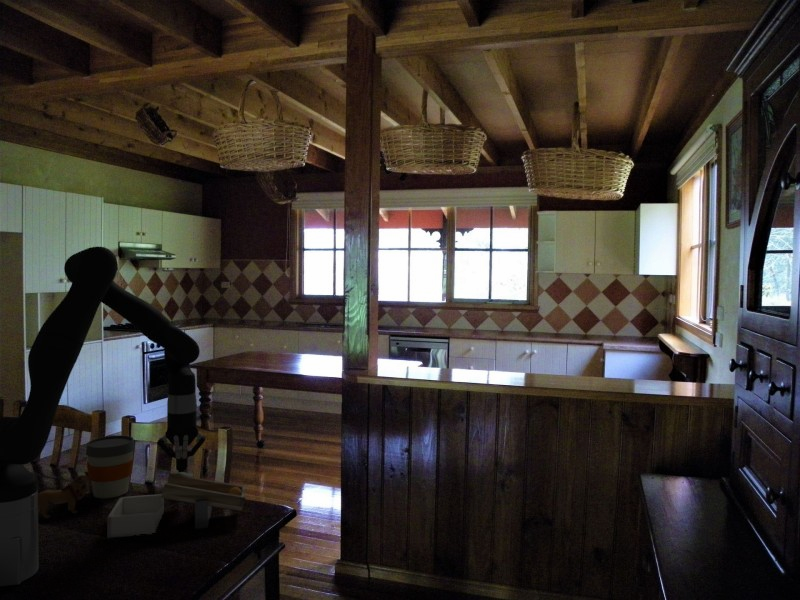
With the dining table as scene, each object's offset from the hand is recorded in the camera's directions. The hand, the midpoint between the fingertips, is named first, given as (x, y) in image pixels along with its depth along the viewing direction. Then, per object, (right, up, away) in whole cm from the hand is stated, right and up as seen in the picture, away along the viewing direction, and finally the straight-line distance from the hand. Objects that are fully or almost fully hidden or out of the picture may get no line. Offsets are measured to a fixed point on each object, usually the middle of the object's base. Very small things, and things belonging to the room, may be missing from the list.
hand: (182, 471), depth 152 cm
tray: (-6, -10, -13) cm, 17 cm away
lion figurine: (-30, -9, -6) cm, 32 cm away
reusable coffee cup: (-24, -9, +8) cm, 27 cm away
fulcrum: (+9, -10, -9) cm, 16 cm away
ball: (+17, -4, -7) cm, 19 cm away
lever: (+8, -5, -5) cm, 10 cm away
